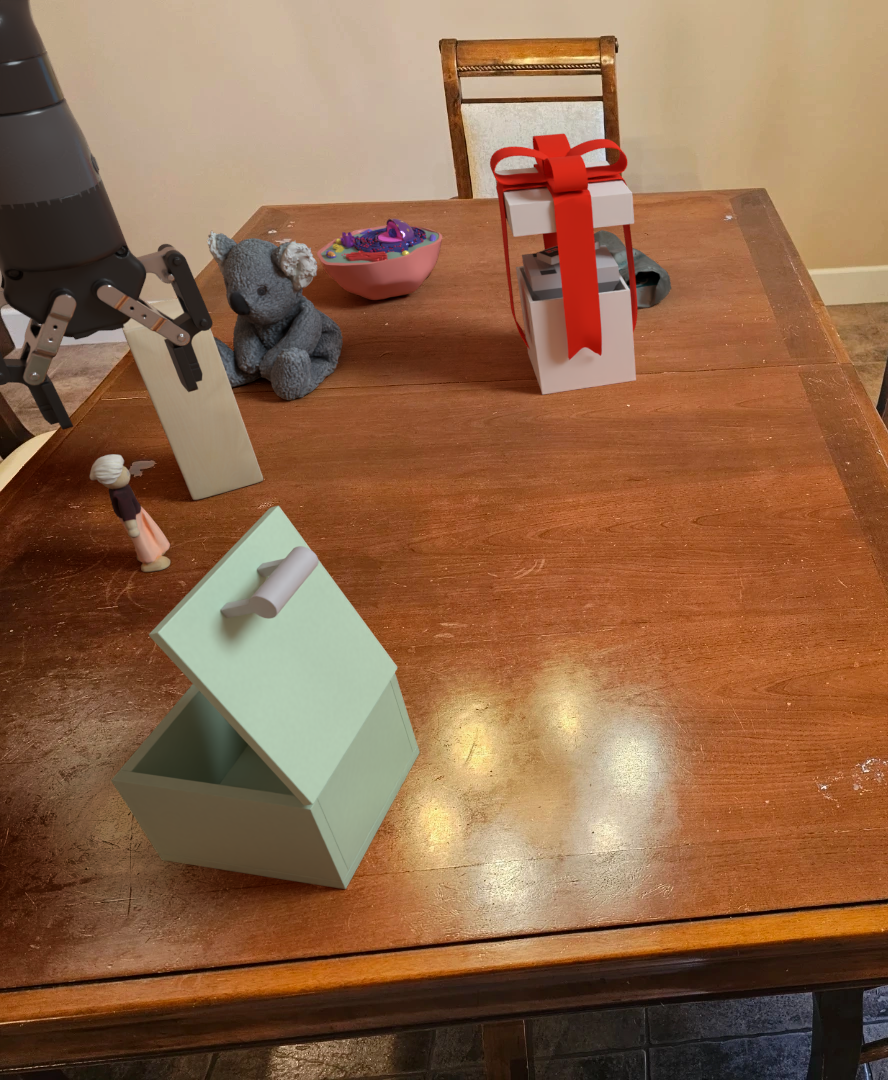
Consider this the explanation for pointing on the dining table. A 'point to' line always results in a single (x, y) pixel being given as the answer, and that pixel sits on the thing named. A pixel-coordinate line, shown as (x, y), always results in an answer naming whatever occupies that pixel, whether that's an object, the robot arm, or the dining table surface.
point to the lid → (279, 653)
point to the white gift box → (570, 262)
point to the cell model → (382, 259)
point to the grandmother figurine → (132, 513)
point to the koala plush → (274, 316)
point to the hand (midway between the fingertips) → (129, 405)
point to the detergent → (638, 271)
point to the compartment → (263, 795)
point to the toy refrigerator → (196, 411)
